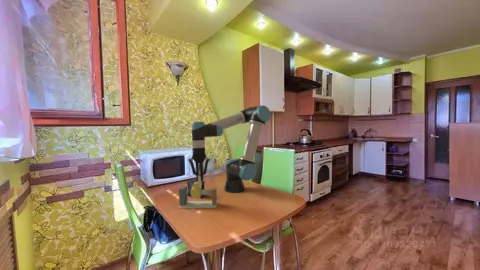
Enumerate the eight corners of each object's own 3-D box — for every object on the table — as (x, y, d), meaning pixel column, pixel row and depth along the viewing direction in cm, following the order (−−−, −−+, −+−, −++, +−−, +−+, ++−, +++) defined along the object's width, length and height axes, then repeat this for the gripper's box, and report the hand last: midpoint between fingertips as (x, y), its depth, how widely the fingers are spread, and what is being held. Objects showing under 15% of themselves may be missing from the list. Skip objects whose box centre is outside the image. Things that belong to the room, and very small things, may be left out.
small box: (187, 196, 141) (186, 181, 140) (193, 193, 146) (192, 179, 146) (199, 198, 136) (198, 183, 135) (205, 195, 141) (204, 180, 141)
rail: (218, 202, 128) (217, 184, 128) (216, 207, 119) (215, 189, 119) (183, 202, 129) (182, 185, 128) (178, 208, 120) (178, 189, 119)
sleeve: (201, 195, 126) (201, 181, 126) (199, 198, 121) (199, 183, 121) (193, 195, 126) (193, 181, 126) (191, 198, 121) (190, 183, 121)
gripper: (210, 146, 126) (211, 184, 127) (189, 146, 126) (191, 184, 127) (208, 147, 119) (209, 187, 119) (186, 148, 119) (187, 187, 120)
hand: (200, 185), depth 123 cm, fingers closed
